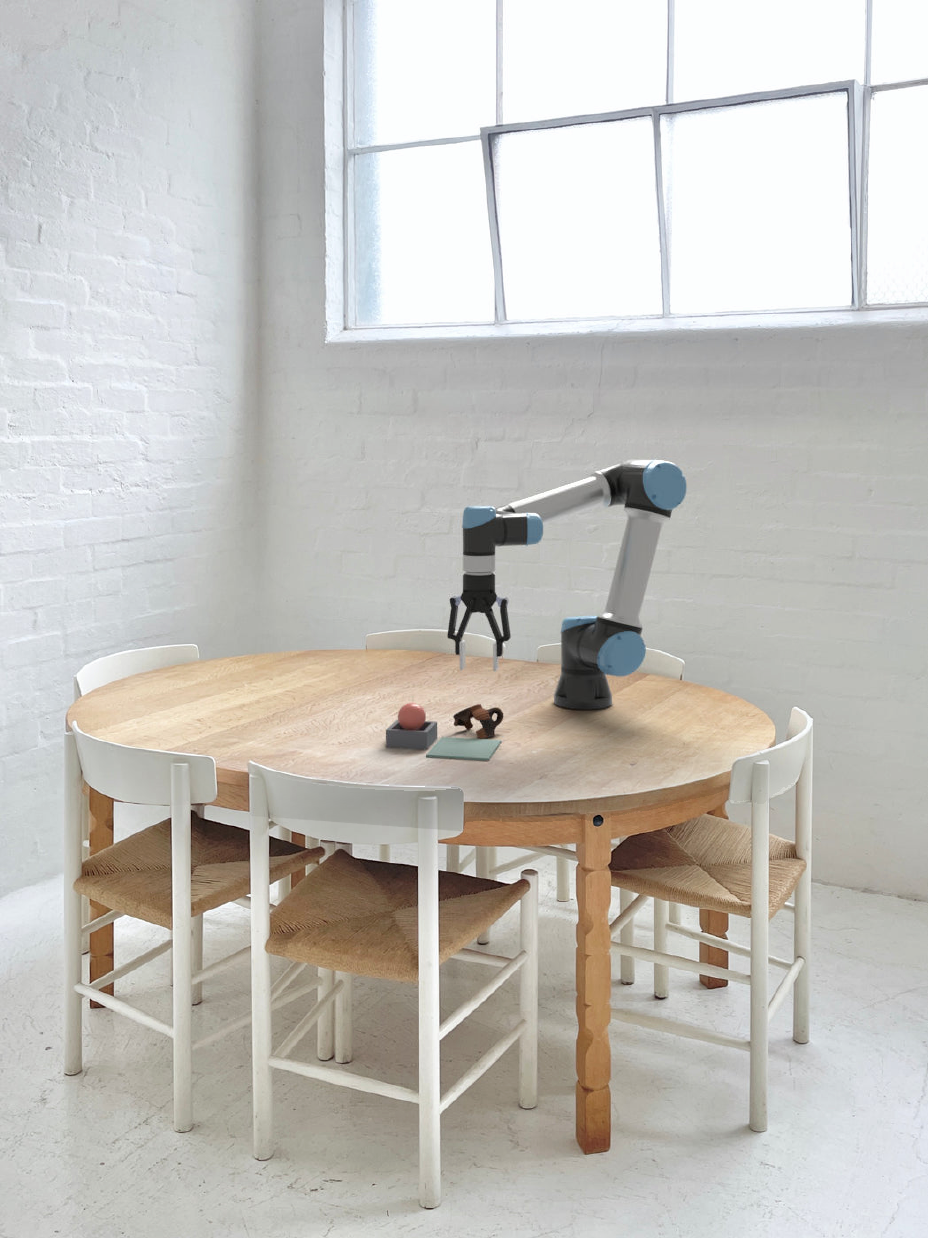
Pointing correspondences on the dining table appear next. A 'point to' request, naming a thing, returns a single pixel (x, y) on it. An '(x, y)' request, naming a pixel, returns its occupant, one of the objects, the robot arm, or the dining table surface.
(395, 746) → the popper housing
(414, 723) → the pinkish red ball
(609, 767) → the dining table surface
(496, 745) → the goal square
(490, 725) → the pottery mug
